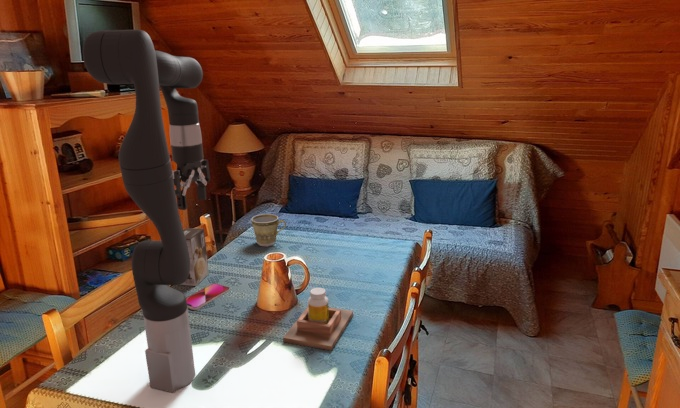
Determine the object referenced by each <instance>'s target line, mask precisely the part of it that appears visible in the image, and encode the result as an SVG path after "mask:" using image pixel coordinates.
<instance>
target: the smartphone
mask: <svg viewBox="0 0 680 408" xmlns="http://www.w3.org/2000/svg"><path fill="white" fill-rule="evenodd" d="M230 290H231V288H230V287H229V286H226V285H222V284H219V283H214V282H213V283H211V284H209V285H207V286H205V287H204V288H201V289H200V290H198V291H197V292H194V293H192V294H191V295H189V296H188V297H186V300H187V307H188V309H190V310H193V311H197V310H200V309H201V308H204V306H206V305H208V304H209V303H211V302H213V301H214V300H216V299H218V298H220V297H221V296H223V295H224V294H226V293H227V292H229V291H230Z"/></svg>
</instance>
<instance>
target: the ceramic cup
mask: <svg viewBox="0 0 680 408" xmlns="http://www.w3.org/2000/svg"><path fill="white" fill-rule="evenodd" d="M280 223H284V226H283V227H282V228H280V229H279V230H278V226H279V225H280ZM251 224H252V228H253V232H254V236H255V240H256V243H257V245H258V246H261V247H271V246H274V245H275V243H276V241H277V235H278V234H279V233H280V232H281V231H282V230H284V229H285V228H286V226H287V222H286V221H285V220H282V219H280V220H279V216H278V215H276V214H273V213H261V214H257V215H254V216H252V217H251Z"/></svg>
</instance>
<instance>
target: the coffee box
mask: <svg viewBox="0 0 680 408" xmlns="http://www.w3.org/2000/svg"><path fill="white" fill-rule="evenodd" d="M183 231H184V234H185V238H186V242H187V246H188V250H189V256H190V272H189V276H188V278H187V280H186V281H185V282H184V283H182V284H179V285H180V286H190V287H191V286H193V287H196V286H198V285H200V283H202V281H203V280H204V279H205V278H207V276H208V275H209V274H210V272H209V270H210V269H209V261H208V253H207V244H206V236H205V234H206V233H205V229H204V228H198V227H197V228H195V227H194V228H193V227H192V228H191V227H186V228H183ZM179 285H178V286H179Z"/></svg>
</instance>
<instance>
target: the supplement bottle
mask: <svg viewBox="0 0 680 408" xmlns="http://www.w3.org/2000/svg"><path fill="white" fill-rule="evenodd" d="M309 293H310V294H309V298H308V299H307V307H308V318H309V321H312V322H318V323H323V324H328V323H329V298H328V296H327V293H326V289H325V288H322V287H313V288H312V289H310V292H309Z"/></svg>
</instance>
